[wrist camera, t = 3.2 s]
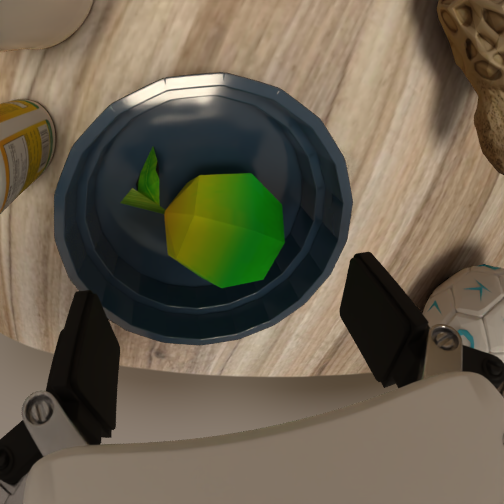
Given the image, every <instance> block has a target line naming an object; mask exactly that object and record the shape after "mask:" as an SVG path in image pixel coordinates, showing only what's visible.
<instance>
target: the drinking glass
mask: <svg viewBox="0 0 504 504" xmlns="http://www.w3.org/2000/svg"><path fill="white" fill-rule="evenodd" d="M92 3H93V0H0V52H5V51H12V50H20V49H32V50H38V49H45V48H49V47H52V46H54V45H57V44H59V43H60V42H62V41H64V40H65V39H67V38H68V37H69V36H71V35H72V34H73V33H74V32H75V31H76V30H77V29H78V28H79V27H80V26H81V24H82V23H83V22H84V20H85V19H86V17H87V15H88V13H89V11H90V9H91V6H92Z"/></svg>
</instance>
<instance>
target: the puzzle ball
mask: <svg viewBox="0 0 504 504" xmlns="http://www.w3.org/2000/svg"><path fill="white" fill-rule="evenodd" d="M422 314H423V315H424V317H425V318H426V319H427V321H428V322H429V323H428V325H429V327H430V328H431V327H432V326H434V325H436V324H446V325H448V326H451V327H452V328H454V329H455V330H456V331H457V332H458V333H459V334H460V336H461V338H462V342H463V345H465V346H468V347H471V348H474V349H477V350H480V351H483V352H486V353H489V354H492V355H495V356H497V357H498V358H499V359H501V360H502V362H503V363H504V269H503V268H499V267H493V266H489V265H485V264H483V265H479V266H472V267H469V268H464V269H462V270H461V271H459V272H457V273H456V274H454V275H453V276H451V277H450V278H449V279H447V280H446V281H445V282H443V283H442V284H441V285H440V286H438V287H437V288H436V289H435V290H434V292H433V294H431V296H430V297H429V299H428V301H427V303H426V305H425V307H424V310H423V313H422Z"/></svg>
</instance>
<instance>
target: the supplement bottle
mask: <svg viewBox="0 0 504 504" xmlns="http://www.w3.org/2000/svg"><path fill="white" fill-rule="evenodd" d="M54 148H55V130H54V125H53V122H52V120H51V118H50V116H49V114H48V113H47V111H46V110H45V109H44V108H43V107H42V106H41V105H39V104H38V103H36V102H34V101H31V100H25V99H18V100H13V101H10V102H6V103H2V104H0V214H1V213H2V212H3V211H4V210H5V209H6V208H7V207H8V206H9V204H10V203H12V202H13V201H14V200H15V199H16V198H17V197H18V196H19V195H20V194H21V193H22V192H23V191H24V190H25V189H26V188H27V187H28V186H29V185H30V184H31V183H32V182H34V181H35V180H36V179H37V178H38V177H39V176H40V175H41V174H42V173H43V172H44V171H45V169H46V168H47V167H48V165H49V163H50V161H51V159H52V156H53V153H54Z"/></svg>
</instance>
